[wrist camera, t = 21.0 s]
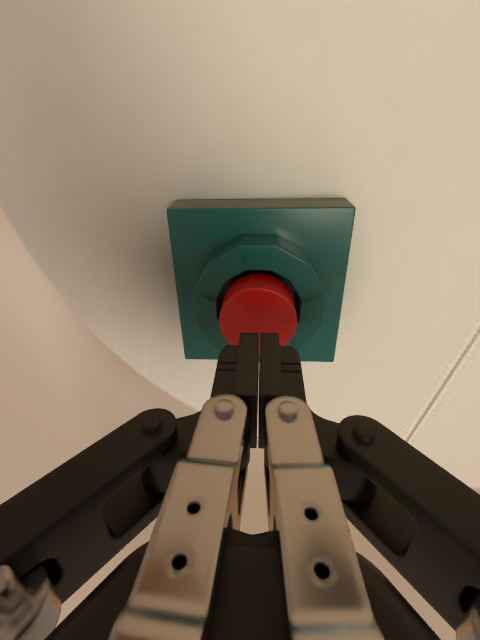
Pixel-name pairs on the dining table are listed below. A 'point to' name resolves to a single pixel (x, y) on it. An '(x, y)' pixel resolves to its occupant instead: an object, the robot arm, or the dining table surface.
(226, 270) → the button block
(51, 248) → the dining table surface
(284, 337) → the button
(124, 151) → the dining table surface
